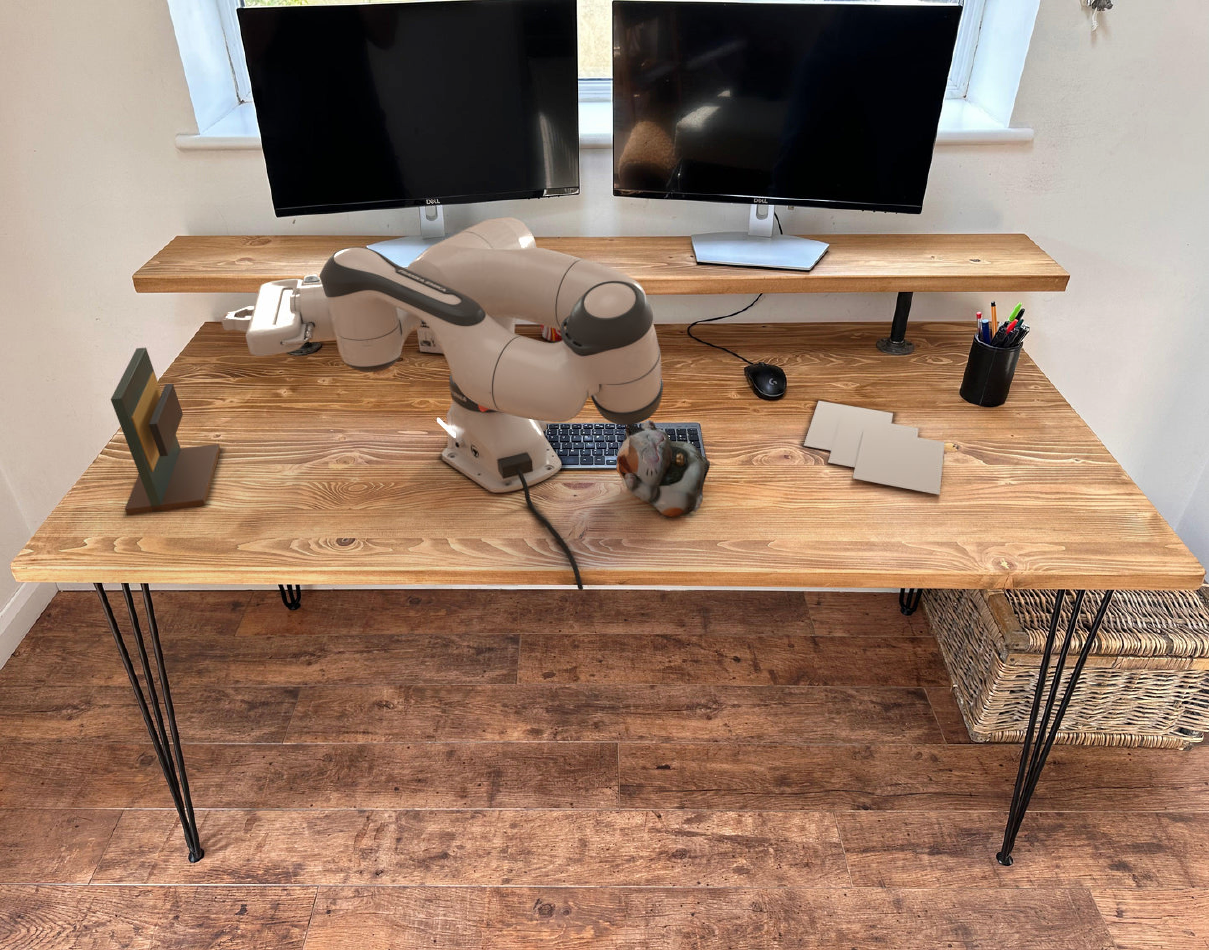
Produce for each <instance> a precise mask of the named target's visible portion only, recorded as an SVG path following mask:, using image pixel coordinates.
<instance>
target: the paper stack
mask: <svg viewBox="0 0 1209 950" xmlns="http://www.w3.org/2000/svg"><path fill="white" fill-rule="evenodd" d="M893 416H894V413H893V412H890V411H889V412H888V411H882V410H876V409H870V408H864V407H860V406H854V405H853V406H852V405H847V404H841V403H836V402H835V403H834V402H828V401H823V400H818V401H817V404H816V407H815V410H814V413H813V416H812V419H811V422H810V425H809V428H808V431H807V434H806V437H805V440H804V442H803V443H804V444H803V446H804V447H809V448H815V449H820V450H826V451H830V454H829V457H828V461H827V463H829V464H834V465H840V466H845V467H851V468H854V470H853V474H852V479H855V480H859V481H865V482H871V483H876V484H881V485H886V486H892V487H897V488H903V489H908V490H913V491H917V492H923V493H928V494H932V495H933V494H934V495H939V496H940V495H941V487H942V486H941V485H942V474H943V463H944V456H945V455H944V454H945V444H946V443H945V441H941V440H935V439H930V438H924V437H919V430H920V428H919V427H914V426H909V425H902V424H897V423H893Z"/></svg>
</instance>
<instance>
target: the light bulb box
mask: <svg viewBox="0 0 1209 950" xmlns="http://www.w3.org/2000/svg"><path fill="white" fill-rule="evenodd" d="M416 333H417V339H418V346H419V347H418V348H419V352H421V353H422V352H423V353H432V354H441V355H442V354H443V355H444V353H443V350H442V348H441V346H440V344H439V342H438V340H437V338H436V336H435V335H434V333H433V332H432V330H431V329H430V327H429V326H428V325H427V324H426V323H425V322H424V321H423V320H422V325H421V327H420V328H419V329H417V330H416Z"/></svg>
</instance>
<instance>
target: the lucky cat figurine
mask: <svg viewBox="0 0 1209 950" xmlns="http://www.w3.org/2000/svg"><path fill="white" fill-rule="evenodd" d="M624 428H625V432H624V438H623V442H622V445H621V446H620V448H619V449H618V451H617V452H616V453H617V454H616V455H617V457H616V466H615V467H616V472H617V474H618V475H619V477H620V479H621V483H622V486H623V487H624V488H625V489H627V490H628V491H629V493H630V494H632V495H633V496H635V497H637V498H638V499H640V500H642V501H644V502H645V503H648V504H649V505H652V506H653V507H654V508H656V509H657V511H659V512H660V513H661V514H662V515H663V516H666V517H669V518H677V517H680V516H685V515H689V514H691V513H692V512H694V513H696V512H697V511H698V510H699V509H700V507H701V505H702V502H703V500H704V492H703V489H704V484H705V482H706V478H707V476H708V473H709V470H710V465H711V462H710V460H709V459H708V458H707V457H705V456H703V455H702V453H701V452H700V450H699V449H698V447H696V446H695V445H694V444H692V443H689V442H687V441H673V440H671V439H670V436H669V434H668V433H667V432H666V431H665V430H663V429H661V428H658V427H656V424H655V422H654V421H653V420H651V419H646V420H645V422H644V423H643V424H642V425H641V427H639V426H636V425H635V424H631V425H625V427H624Z"/></svg>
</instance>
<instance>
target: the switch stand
mask: <svg viewBox="0 0 1209 950" xmlns="http://www.w3.org/2000/svg"><path fill="white" fill-rule="evenodd" d="M161 394H162V390H161V387H160V384H159V381H158V379H157V376H156V373H155V370H154V366H153V363H152V361H151V357H150V354H149V352H148V349H147V347H137V348H136V349H135V351H134V352H133V354H132V357H131V359H130V360H129V362H128V365H127V366H126V368H125V370H124V372H123V374H122V376H121V378H120V380H119V382H118V384H117V386H116V388H115V390H114V392H113V393H112V396H111V398H110V402H111V404H112V406H113V409H114V412H115V415H116V418H117V420H118V423H119V425H120V428H121V431H122V433H123V436H124V439H125V441H126V443H127V446H128V449H129V451H130V454H131V457H132V460H133V462H134V464H135V467H136V470H137V472H138V475H137V478H136V480H135V482H134V485H133V488H132V490H131V492H130V495H129V498H128V500H127V503H126V506H125V508H124V511H125V513H126V515H127V516H130V515H137V514H139V515H140V514H145V513H146V514H147V513H155V512H163V511H172V510H178V509H188V508H194V507H195V508H196V507H204V506H206V503H207V500H208V496H209V492H210V489H211V487H212V483H213V479H214V476H215V472H216V467H217V464H218V461H219V458H220V454H221V450H222V449H221V446H220V444H219V443H217V444H208V445H199V446H198V445H197V446H191V447H181V445H180V442H179V440H178V437H177V434H176V435H175V438H174V440H173V443H172V446H171V449H170V451H169V454H168V456H160V455H159V452H158V449H157V446H156V444H155V441H154V438H153V435H152V432H151V430H150V427H149V423H150V420H151V418H152V415H153V413H154V411H155V408H156V406H157V403H158V401H159V399H160V396H161Z"/></svg>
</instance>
